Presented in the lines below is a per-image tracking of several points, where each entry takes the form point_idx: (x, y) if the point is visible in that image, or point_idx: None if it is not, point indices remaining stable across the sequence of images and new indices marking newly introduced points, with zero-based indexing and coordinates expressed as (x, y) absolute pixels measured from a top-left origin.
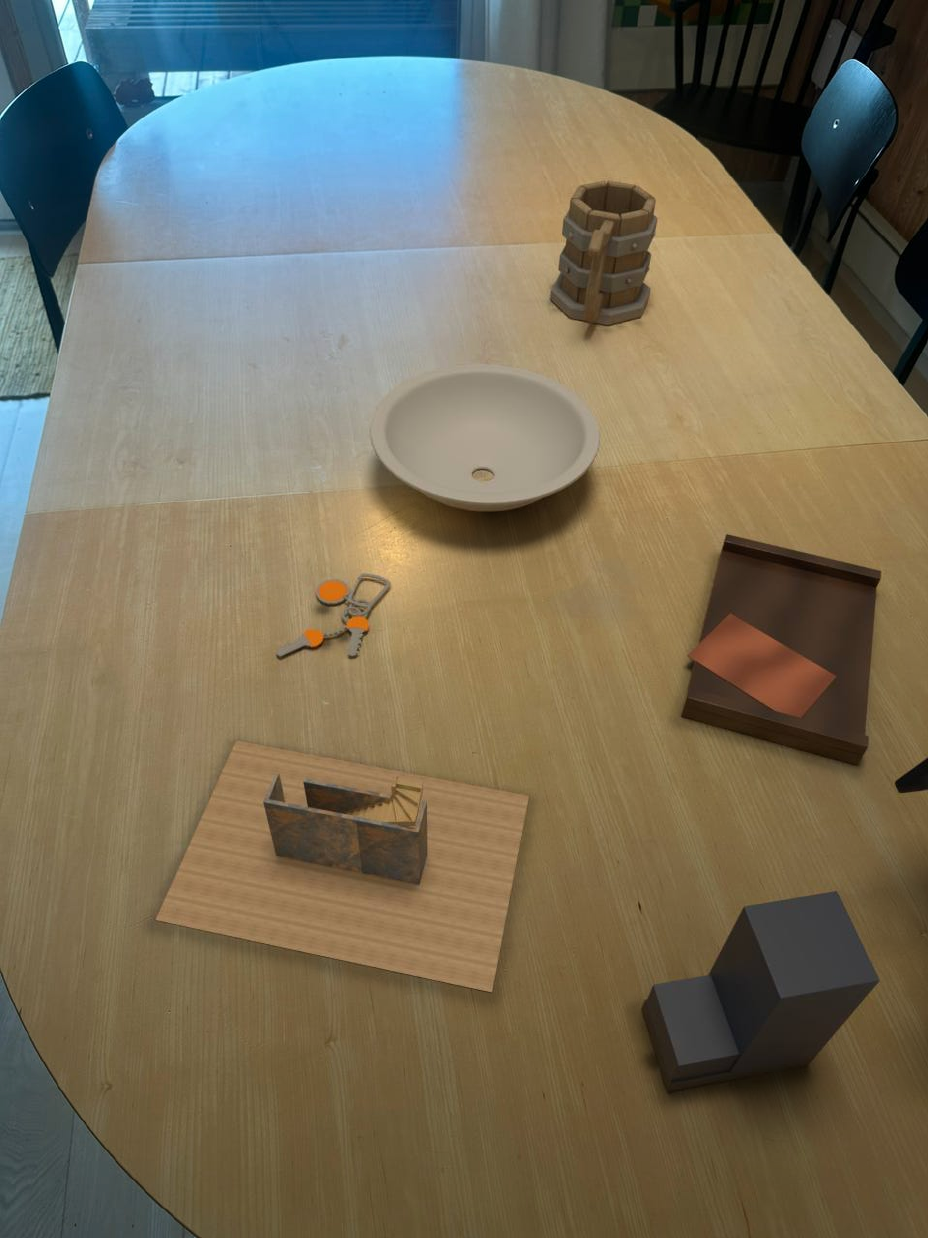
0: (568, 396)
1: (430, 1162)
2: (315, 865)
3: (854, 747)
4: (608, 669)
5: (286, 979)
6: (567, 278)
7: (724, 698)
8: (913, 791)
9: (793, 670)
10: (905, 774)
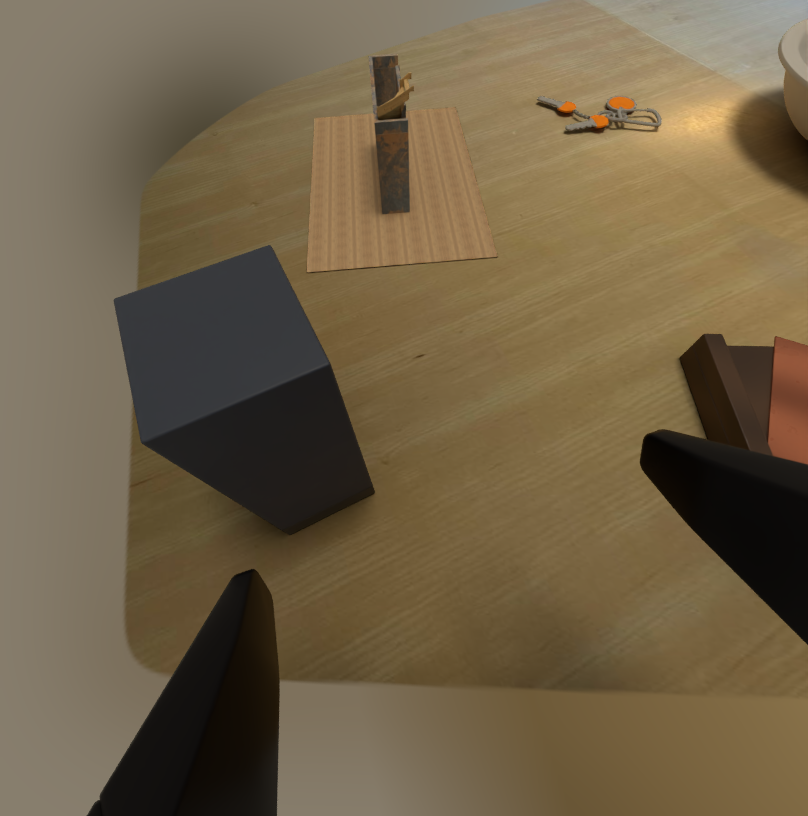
0: None
1: (179, 269)
2: (376, 164)
3: None
4: (692, 285)
5: (291, 175)
6: None
7: (735, 372)
8: (666, 495)
9: None
10: (697, 438)
